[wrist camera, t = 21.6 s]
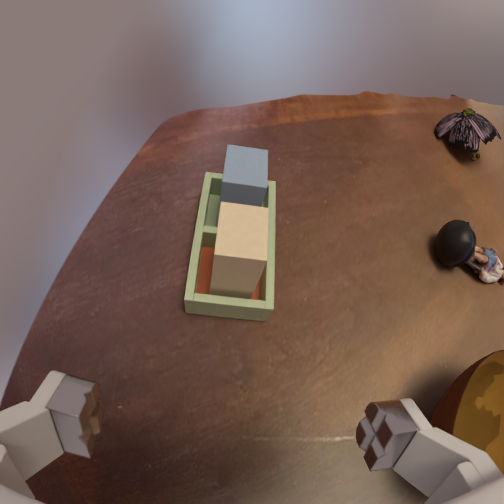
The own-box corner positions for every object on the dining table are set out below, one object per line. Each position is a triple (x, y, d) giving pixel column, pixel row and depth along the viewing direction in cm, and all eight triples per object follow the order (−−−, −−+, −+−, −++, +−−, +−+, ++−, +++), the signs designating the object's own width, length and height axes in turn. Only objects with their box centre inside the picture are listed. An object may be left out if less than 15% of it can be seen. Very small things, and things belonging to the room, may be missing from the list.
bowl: (437, 528, 21) (494, 539, 13) (359, 453, 26) (417, 459, 18) (503, 423, 29) (557, 410, 20) (443, 343, 34) (499, 316, 25)
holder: (185, 313, 31) (184, 299, 28) (204, 192, 39) (205, 171, 36) (265, 321, 32) (273, 309, 29) (269, 201, 40) (275, 181, 37)
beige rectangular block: (209, 298, 31) (214, 254, 24) (214, 253, 34) (220, 201, 26) (249, 302, 32) (267, 260, 24) (251, 258, 34) (269, 207, 27)
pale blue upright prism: (215, 236, 35) (222, 181, 28) (219, 200, 38) (227, 144, 30) (251, 240, 36) (267, 187, 28) (253, 204, 38) (268, 150, 30)
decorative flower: (467, 93, 55) (515, 123, 45) (461, 134, 63) (503, 167, 53) (427, 100, 54) (478, 133, 44) (423, 145, 63) (467, 182, 53)
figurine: (461, 201, 36) (526, 258, 37) (432, 216, 42) (498, 266, 43) (454, 250, 34) (522, 302, 35) (423, 261, 40) (493, 307, 41)
